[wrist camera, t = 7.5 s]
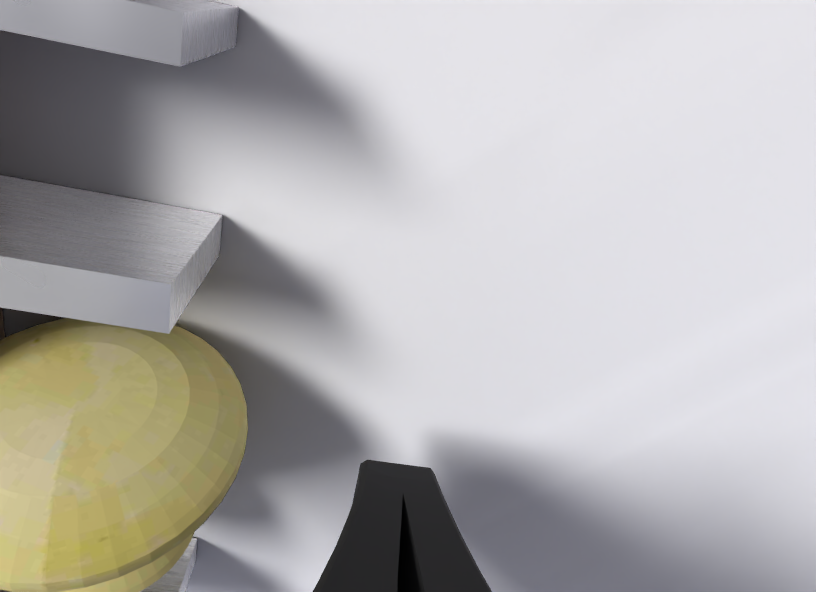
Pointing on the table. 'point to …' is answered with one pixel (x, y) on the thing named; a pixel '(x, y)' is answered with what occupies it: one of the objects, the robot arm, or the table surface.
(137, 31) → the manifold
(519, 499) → the table surface
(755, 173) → the table surface
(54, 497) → the knob
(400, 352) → the table surface
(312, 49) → the table surface
